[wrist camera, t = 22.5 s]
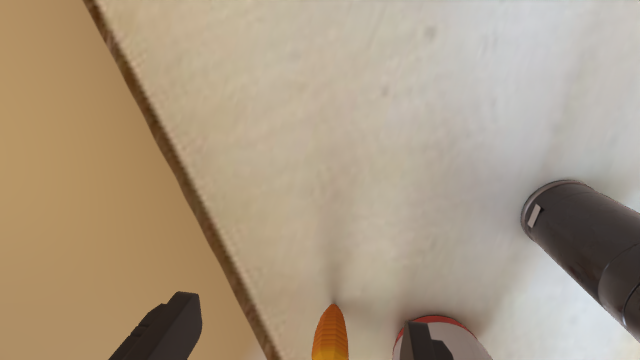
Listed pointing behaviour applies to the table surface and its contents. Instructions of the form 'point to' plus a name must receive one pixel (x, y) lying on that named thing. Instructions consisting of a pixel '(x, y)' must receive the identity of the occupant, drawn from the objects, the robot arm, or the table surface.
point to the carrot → (331, 336)
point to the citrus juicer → (449, 339)
